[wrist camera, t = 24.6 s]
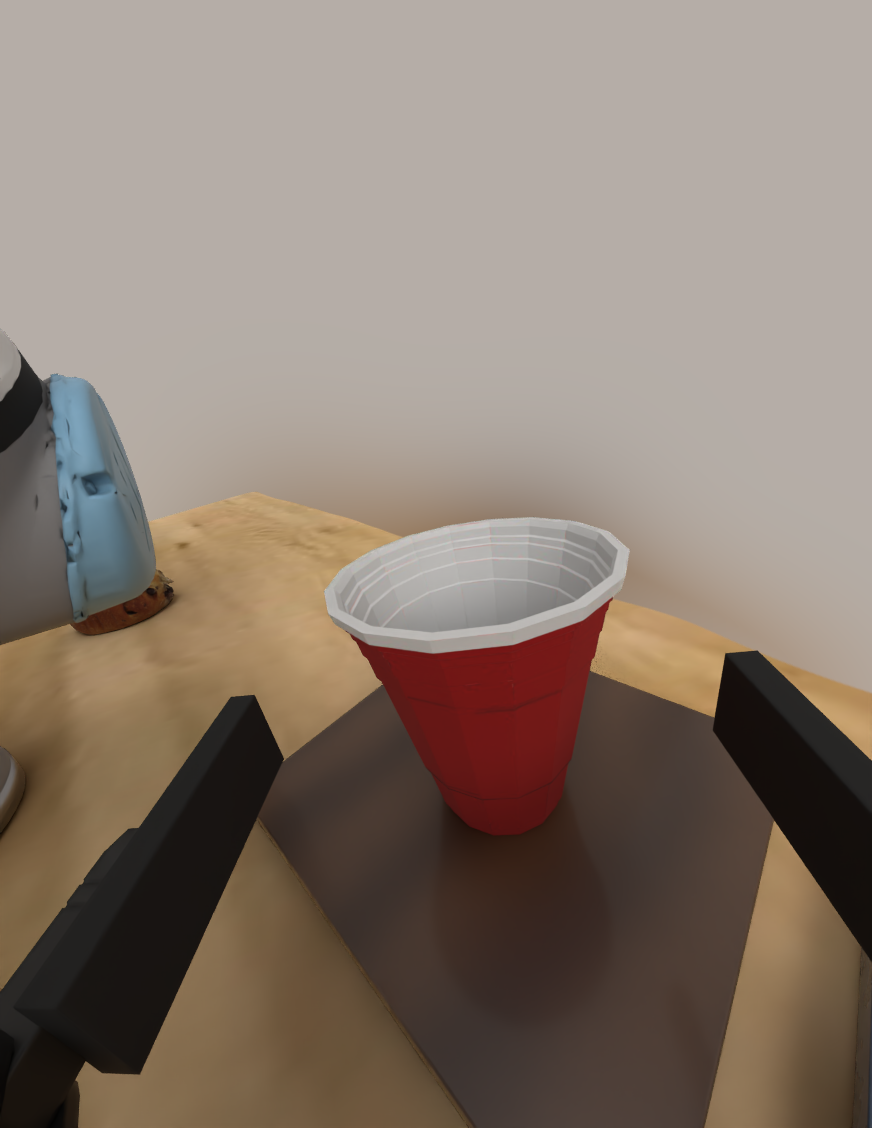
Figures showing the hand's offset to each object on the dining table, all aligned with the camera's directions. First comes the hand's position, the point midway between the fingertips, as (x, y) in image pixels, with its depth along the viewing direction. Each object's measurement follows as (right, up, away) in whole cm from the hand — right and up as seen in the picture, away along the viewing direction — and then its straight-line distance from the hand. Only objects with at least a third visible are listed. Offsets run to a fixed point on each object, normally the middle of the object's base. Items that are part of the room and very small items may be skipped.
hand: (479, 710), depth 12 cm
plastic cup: (+2, -6, +8) cm, 11 cm away
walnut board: (+2, -7, +9) cm, 12 cm away
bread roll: (-37, -2, +37) cm, 52 cm away
